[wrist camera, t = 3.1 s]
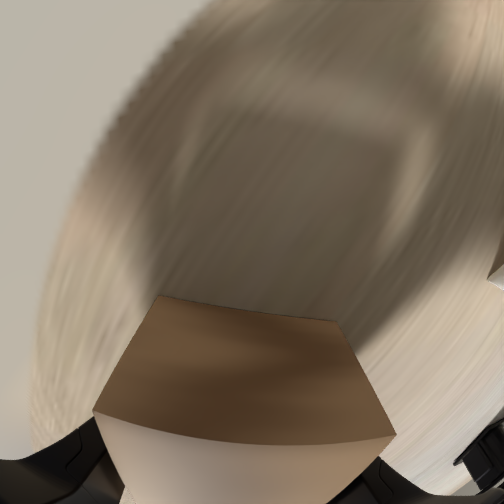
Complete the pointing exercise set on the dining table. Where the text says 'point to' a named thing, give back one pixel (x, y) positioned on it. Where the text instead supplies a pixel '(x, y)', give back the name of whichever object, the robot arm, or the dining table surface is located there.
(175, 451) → the brown block
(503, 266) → the pouch
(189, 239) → the dining table surface
